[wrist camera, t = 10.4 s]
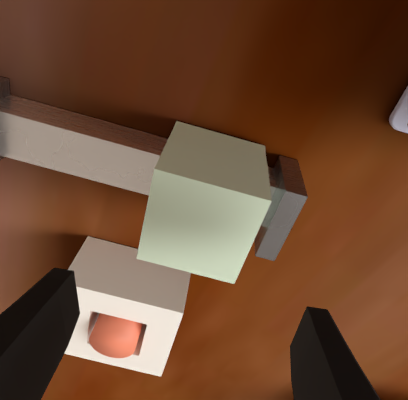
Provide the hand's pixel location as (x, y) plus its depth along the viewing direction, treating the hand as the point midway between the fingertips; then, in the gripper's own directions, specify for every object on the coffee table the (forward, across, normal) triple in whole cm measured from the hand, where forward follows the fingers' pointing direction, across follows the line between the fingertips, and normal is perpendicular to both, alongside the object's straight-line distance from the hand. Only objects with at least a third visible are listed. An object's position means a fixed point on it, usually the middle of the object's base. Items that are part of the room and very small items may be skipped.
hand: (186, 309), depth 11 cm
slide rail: (+9, +4, 0) cm, 10 cm away
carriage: (+9, 0, 0) cm, 9 cm away
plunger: (+9, +4, +10) cm, 14 cm away
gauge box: (+9, +4, +10) cm, 15 cm away
